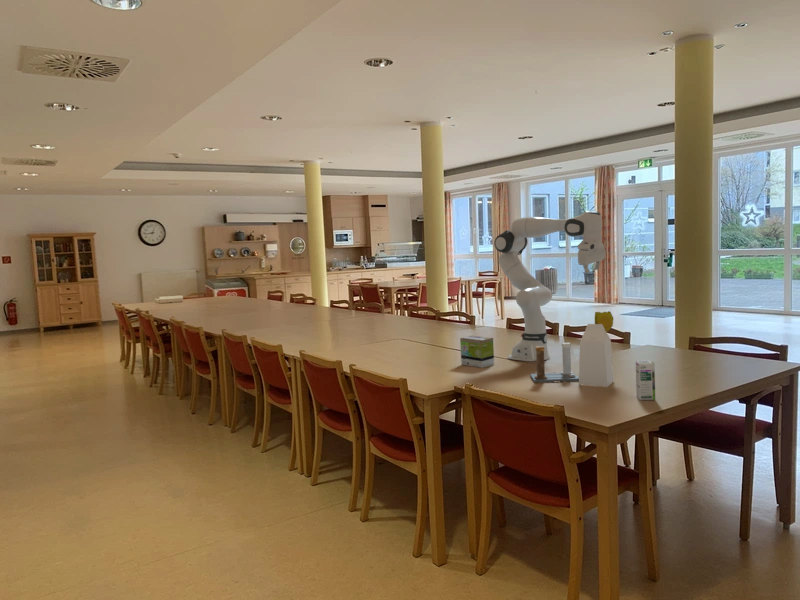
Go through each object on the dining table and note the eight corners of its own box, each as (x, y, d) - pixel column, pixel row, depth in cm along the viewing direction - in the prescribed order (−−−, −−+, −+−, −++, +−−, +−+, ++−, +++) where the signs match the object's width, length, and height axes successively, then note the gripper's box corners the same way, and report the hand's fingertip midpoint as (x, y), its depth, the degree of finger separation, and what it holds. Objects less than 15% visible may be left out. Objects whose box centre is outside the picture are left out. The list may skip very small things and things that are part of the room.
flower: (615, 378, 263) (614, 311, 261) (596, 378, 265) (595, 312, 262) (613, 373, 271) (612, 309, 269) (595, 373, 273) (593, 310, 271)
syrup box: (639, 400, 225) (639, 363, 223) (636, 396, 230) (635, 360, 229) (655, 400, 224) (654, 362, 223) (651, 396, 230) (650, 359, 228)
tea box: (460, 365, 311) (459, 337, 310) (473, 361, 318) (472, 335, 317) (482, 368, 300) (481, 339, 299) (494, 365, 307) (493, 337, 305)
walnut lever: (536, 378, 264) (534, 347, 262) (534, 376, 268) (533, 346, 266) (547, 378, 263) (546, 347, 262) (545, 376, 267) (544, 345, 266)
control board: (534, 382, 262) (534, 377, 262) (530, 376, 275) (529, 371, 275) (579, 381, 261) (579, 375, 261) (573, 374, 274) (573, 369, 273)
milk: (613, 381, 257) (612, 322, 255) (607, 387, 248) (605, 326, 246) (586, 379, 264) (584, 322, 262) (578, 384, 254) (577, 325, 252)
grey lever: (562, 374, 269) (561, 344, 268) (560, 372, 273) (559, 342, 272) (573, 374, 269) (572, 343, 267) (571, 372, 273) (570, 342, 271)
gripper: (597, 240, 298) (596, 267, 302) (575, 246, 285) (575, 274, 288) (608, 241, 294) (608, 268, 297) (587, 247, 280) (587, 275, 284)
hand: (591, 271), depth 292 cm, fingers open, 8 cm apart
